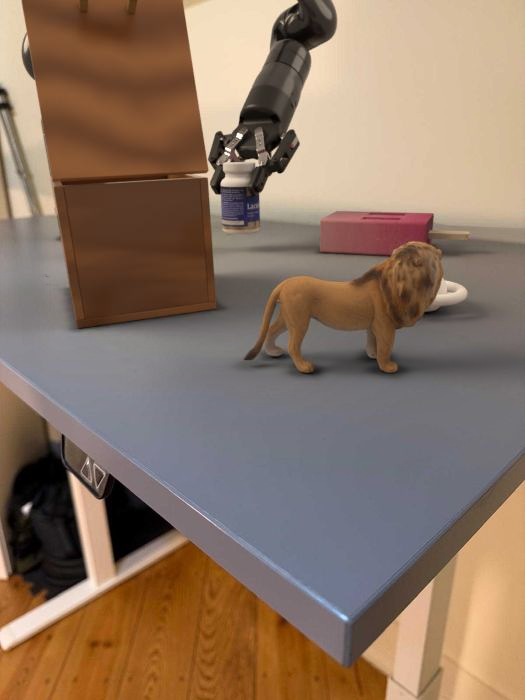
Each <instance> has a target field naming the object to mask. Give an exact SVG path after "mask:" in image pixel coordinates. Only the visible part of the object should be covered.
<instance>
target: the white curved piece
mask: <svg viewBox="0 0 525 700" xmlns="http://www.w3.org/2000/svg"><path fill="white" fill-rule="evenodd" d="M467 297H468V290H467V289H466V287H465V286H463V285H461V284H459V283H457V282H454V281H449V280H446V279H444V276H443V277H442V281H441V285H440V288H439V291H438V293H437V296H436V298H435V300H434V302H433V303H432V304H431V305H430V306H429V308H428V309H426V310H425V312H424V313H429V312H433V311H436V310H438V309H439V308H440V307H446V306H452V305H456V304H459V303H462V302H463V301H465V300H466V299H467Z"/></svg>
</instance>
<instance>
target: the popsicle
mask: <svg viewBox="0 0 525 700" xmlns="http://www.w3.org/2000/svg"><path fill="white" fill-rule="evenodd" d="M434 214H435V213H432V212H398V211H397V212H395V211H394V212H393V211H356V210H354V211H353V210H352V211H350V210H336V211H334V212H332V213H330V214H328V215H326V216H325V217H322V218H320V222H319V253H322V254H323V253H324V254H327V253H328V254H343V255H361V256H362V255H364V256H382V257H391V255H392V253H393V251H394V250H395V249H398V248H399V247H400V246H402V245H404V244H407V243H408V242H411V241H416V242H423V243H426V244H429V245H432V241H433V240H458V241H468V240H469V239H470V231H465V230H436V229H433V228H434V217H435V215H434Z"/></svg>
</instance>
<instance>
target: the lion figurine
mask: <svg viewBox="0 0 525 700" xmlns="http://www.w3.org/2000/svg"><path fill="white" fill-rule="evenodd" d="M441 260H442V250H441V249H439V248H438V249H437V248H436V247H435V246H433V245H432V244H431V245H429V244H426V243H423V242H416V241H411V242H408V243H407V244H404V245H402V246H400V247H399V248H398V249H395V250H394V251H393V253H392V255H391V256H389V258H386V259H384V260H383V261H382V262H381V263H378V264H375V265H373V266H372V267H370V268H369V270H368V271H366V272H364V273H363V274H362V275H361V276H360V277H357V278H355V279H353V280H351V281H329V280H324V279H320V278H316V277H312V276H308V275H306V276H305V275H301V276H300V275H299V276H293V277H290V278H287V279H285V280H283V281H282V282H280V283H279V284H278V285H277V286H276V287H275V288H274V289H273V290H272V292H271V294H270V296H269V298H268V300H267V302H266V305H265V310H264V312H263V317H262V323H261V327H260V331H259V336H258V339H257V340H256V341H257V342H256V343H255V345H254V346H253V348H251V349H250V350H249V351H248V352H247V353H246V355H244V356H243V358H242V360H243V361H252V360H254V359H256V357H258V355H259V354H260V352H261V351H262V349H263V347H264V351H265V354H266V355H268V356H271V357H279V356H282V354H283V348H282V347H280V346H277V345H276V340H277V339H278V338H279V337H280V335H282V334H284V333H285V332H288V337H289V338H288V339H289V340H288V343H287V347H286V349H287V352H288V354H289V356H290V358H291V359H292V361H293V363H294V365H295V367H296V369H297V370H298V371H299V372H301V373H306V374H309V373H312V372H314V371H315V364H314V362H312V361H311V360H307V359H305V358H304V356H303V354H302V344H303V341H304V340H305V337H306V335H307V332H308V329H309V327H310V321H311V319H314V320H316V322H318V323H320V324H322V325H323V326H325V327H327V328H329V329H333V330H335V331H340V332H357V331H364V330H365V331H366V344H365V352H366V355H367V356H368V357H369V358H371V359H374V360H376V361H377V363H378V367H379V369H380V370H381V371H382V372H385V373H388V374H393V373H395V372H397V371H398V368H399V367H398V364H397V363H396V362H394V361H391V354H392V352H393V348H394V344H395V339H396V330H401V329H404V328H411V327H414V326H415V325H416V324H417V323H418V322H420V321H421V320H422V318H423V316H424V314H425V313H426V312H425V310H426V309H428V308H429V306H430V305H431V304H432V303H433V302H434V300H435V298H436V296H437V293H438V291H439V288H440V285H441V281H442V277H443V278H444V269H443V266H442V263H441ZM277 304H280V308H279V312H278V314H277V316H276V319H275V320H274V321H273V322H272V323H271V321H272V319H273V315H274V313H275V309H276V306H277Z"/></svg>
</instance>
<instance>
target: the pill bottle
mask: <svg viewBox="0 0 525 700" xmlns="http://www.w3.org/2000/svg"><path fill="white" fill-rule="evenodd" d="M255 168H256V162H253V161H244V162H230V161H227V162H226V163H223V171H224V173H225V178H224V179H223V180H222V181H221V195H220V206H221V207H220V211H221V228H222V231H223V233H225V234H227V235H239V236H240V235H251V234H256V233H259V231H260V230H261V207H260V205H261V204H260V194H259V195H258V196H252V195H251V193H250V191H249V190H248V184H249V182H250V179H251V177H252V175H253V172H254V170H255Z"/></svg>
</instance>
